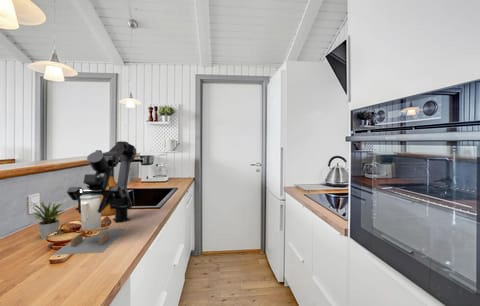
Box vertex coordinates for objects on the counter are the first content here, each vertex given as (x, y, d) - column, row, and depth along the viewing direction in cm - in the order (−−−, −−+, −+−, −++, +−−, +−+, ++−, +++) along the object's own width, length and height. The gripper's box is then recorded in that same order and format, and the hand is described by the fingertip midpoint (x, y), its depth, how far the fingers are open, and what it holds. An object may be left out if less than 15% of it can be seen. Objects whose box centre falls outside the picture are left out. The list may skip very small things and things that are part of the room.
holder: (87, 232, 105) (87, 223, 105) (126, 231, 107) (126, 221, 107) (51, 258, 81) (51, 245, 81) (103, 255, 83) (102, 243, 83)
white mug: (86, 224, 95) (85, 193, 95) (105, 223, 96) (104, 193, 95) (73, 232, 86) (72, 198, 86) (94, 231, 87) (93, 198, 87)
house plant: (13, 246, 91) (11, 202, 90) (33, 233, 104) (32, 195, 104) (58, 242, 95) (57, 200, 94) (72, 230, 108) (71, 193, 108)
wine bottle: (114, 210, 142) (113, 158, 141) (123, 212, 136) (122, 158, 135) (95, 214, 134) (94, 159, 133) (104, 217, 128) (103, 159, 127)
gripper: (68, 166, 94) (51, 201, 84) (120, 165, 96) (109, 200, 86) (80, 183, 102) (65, 217, 92) (127, 182, 104) (118, 215, 94)
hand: (89, 212), depth 91 cm, fingers closed on white mug, 6 cm apart
